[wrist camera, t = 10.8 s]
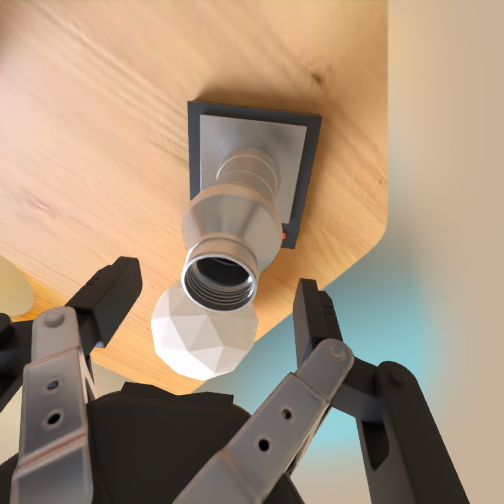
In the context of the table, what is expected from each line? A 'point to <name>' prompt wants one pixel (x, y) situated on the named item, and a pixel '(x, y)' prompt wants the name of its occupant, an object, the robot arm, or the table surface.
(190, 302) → the geometric sphere
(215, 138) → the scale pan
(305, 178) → the scale
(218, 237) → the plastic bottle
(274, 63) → the table surface
